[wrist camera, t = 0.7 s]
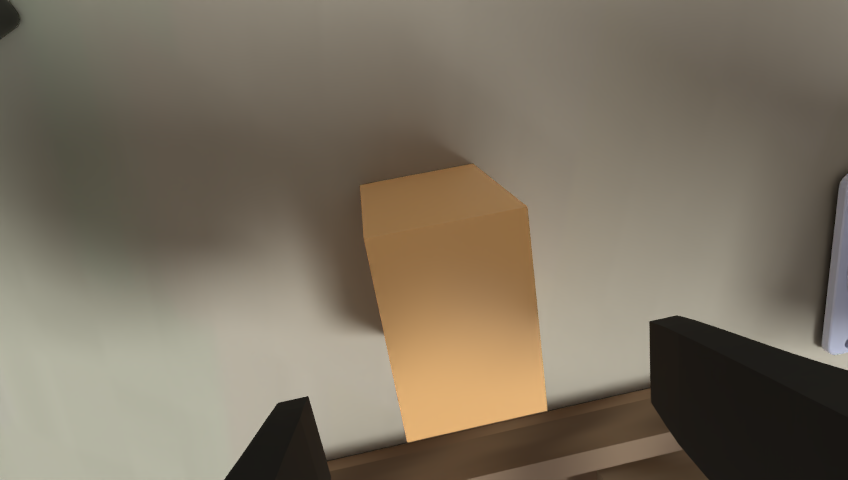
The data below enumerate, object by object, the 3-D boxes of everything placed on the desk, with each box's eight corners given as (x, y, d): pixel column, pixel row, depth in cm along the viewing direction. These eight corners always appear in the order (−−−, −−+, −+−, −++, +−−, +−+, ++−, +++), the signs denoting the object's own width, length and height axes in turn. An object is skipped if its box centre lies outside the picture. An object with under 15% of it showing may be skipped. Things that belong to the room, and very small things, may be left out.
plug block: (472, 163, 18) (527, 206, 12) (492, 314, 20) (547, 410, 14) (359, 184, 18) (363, 238, 12) (391, 335, 20) (407, 442, 14)
